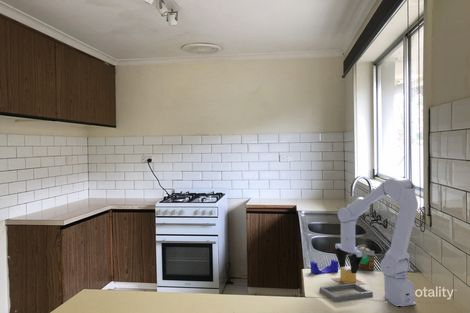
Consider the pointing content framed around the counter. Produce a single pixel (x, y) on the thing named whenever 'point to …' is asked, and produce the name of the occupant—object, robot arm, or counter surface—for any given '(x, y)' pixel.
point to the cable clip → (328, 269)
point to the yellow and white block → (347, 275)
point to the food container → (366, 258)
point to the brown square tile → (347, 283)
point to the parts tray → (363, 294)
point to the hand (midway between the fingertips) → (348, 270)
